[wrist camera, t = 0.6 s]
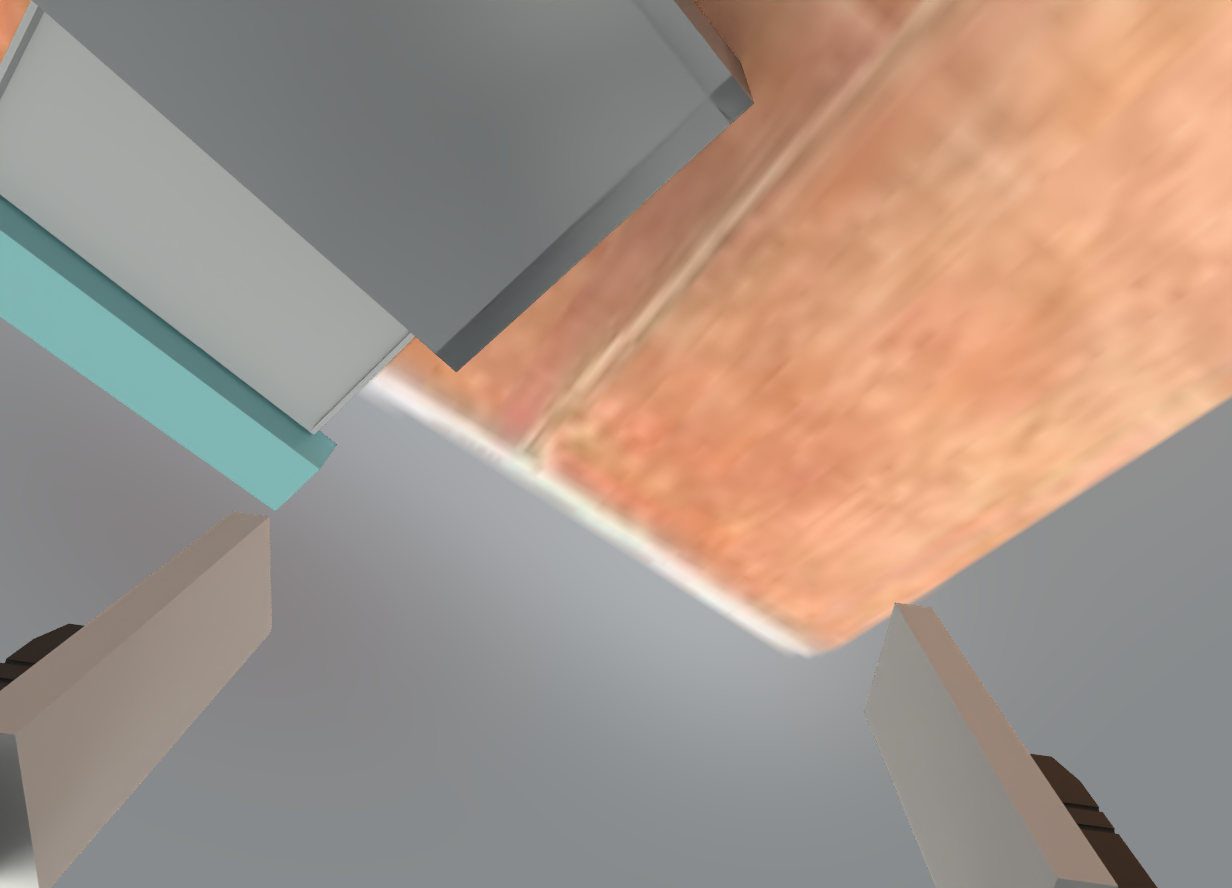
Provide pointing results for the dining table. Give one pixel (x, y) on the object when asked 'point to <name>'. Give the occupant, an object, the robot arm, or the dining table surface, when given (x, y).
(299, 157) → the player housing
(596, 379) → the dining table surface
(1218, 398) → the dining table surface
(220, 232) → the tray
